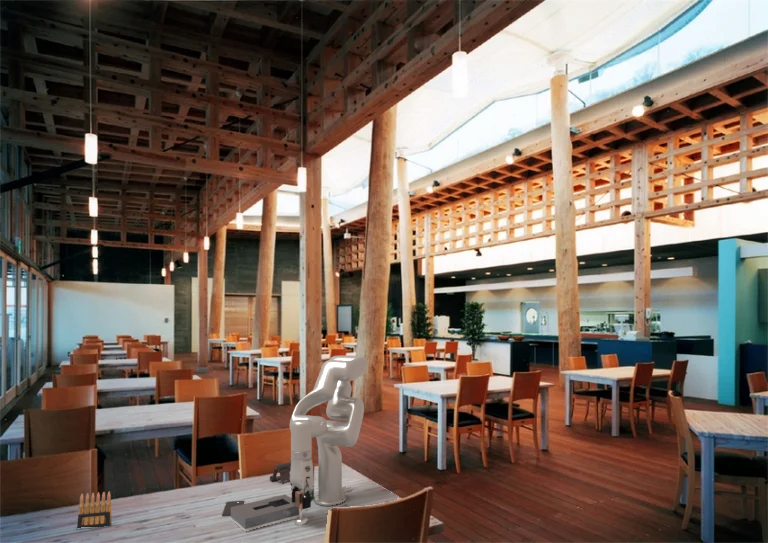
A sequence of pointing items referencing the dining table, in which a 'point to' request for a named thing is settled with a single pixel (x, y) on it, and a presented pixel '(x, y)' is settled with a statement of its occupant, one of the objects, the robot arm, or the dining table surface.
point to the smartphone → (228, 507)
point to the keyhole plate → (264, 512)
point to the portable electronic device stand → (282, 472)
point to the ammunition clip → (94, 511)
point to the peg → (298, 503)
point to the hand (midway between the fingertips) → (301, 504)
